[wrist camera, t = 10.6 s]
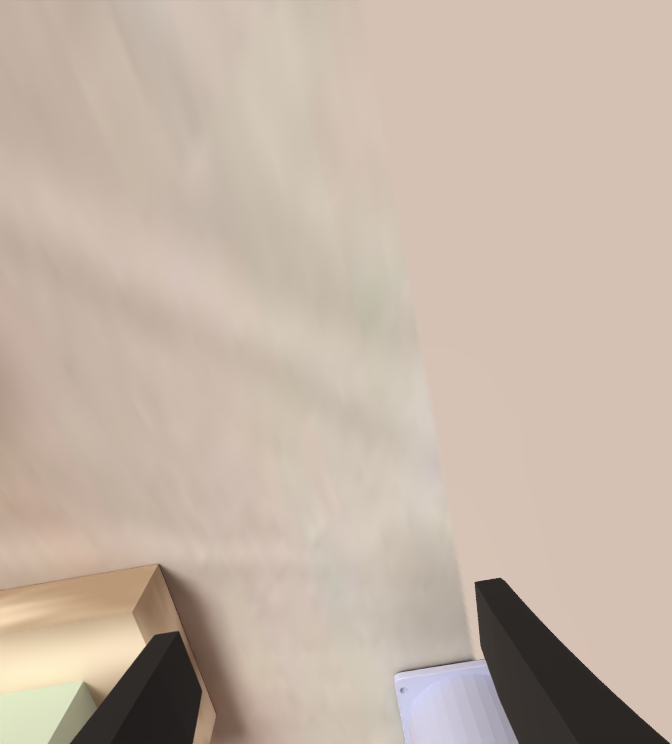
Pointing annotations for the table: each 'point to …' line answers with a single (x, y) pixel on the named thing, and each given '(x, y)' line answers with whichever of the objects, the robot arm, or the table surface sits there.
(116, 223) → the table surface
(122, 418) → the table surface
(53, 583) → the birch plinth
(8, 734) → the sage block
